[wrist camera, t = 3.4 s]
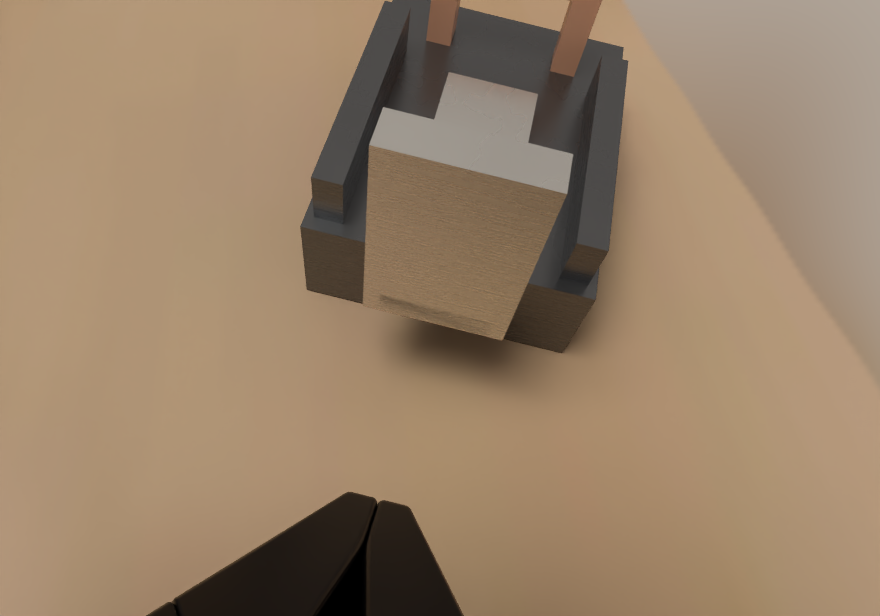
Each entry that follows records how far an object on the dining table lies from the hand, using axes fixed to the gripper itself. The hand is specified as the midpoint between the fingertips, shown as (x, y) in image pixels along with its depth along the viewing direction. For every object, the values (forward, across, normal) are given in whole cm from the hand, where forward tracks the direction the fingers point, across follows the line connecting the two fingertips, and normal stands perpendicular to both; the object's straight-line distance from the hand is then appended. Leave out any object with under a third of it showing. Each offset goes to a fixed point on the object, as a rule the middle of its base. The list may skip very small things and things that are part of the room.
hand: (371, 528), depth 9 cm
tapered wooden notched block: (+16, 0, -3) cm, 16 cm away
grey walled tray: (+21, 0, -3) cm, 22 cm away
